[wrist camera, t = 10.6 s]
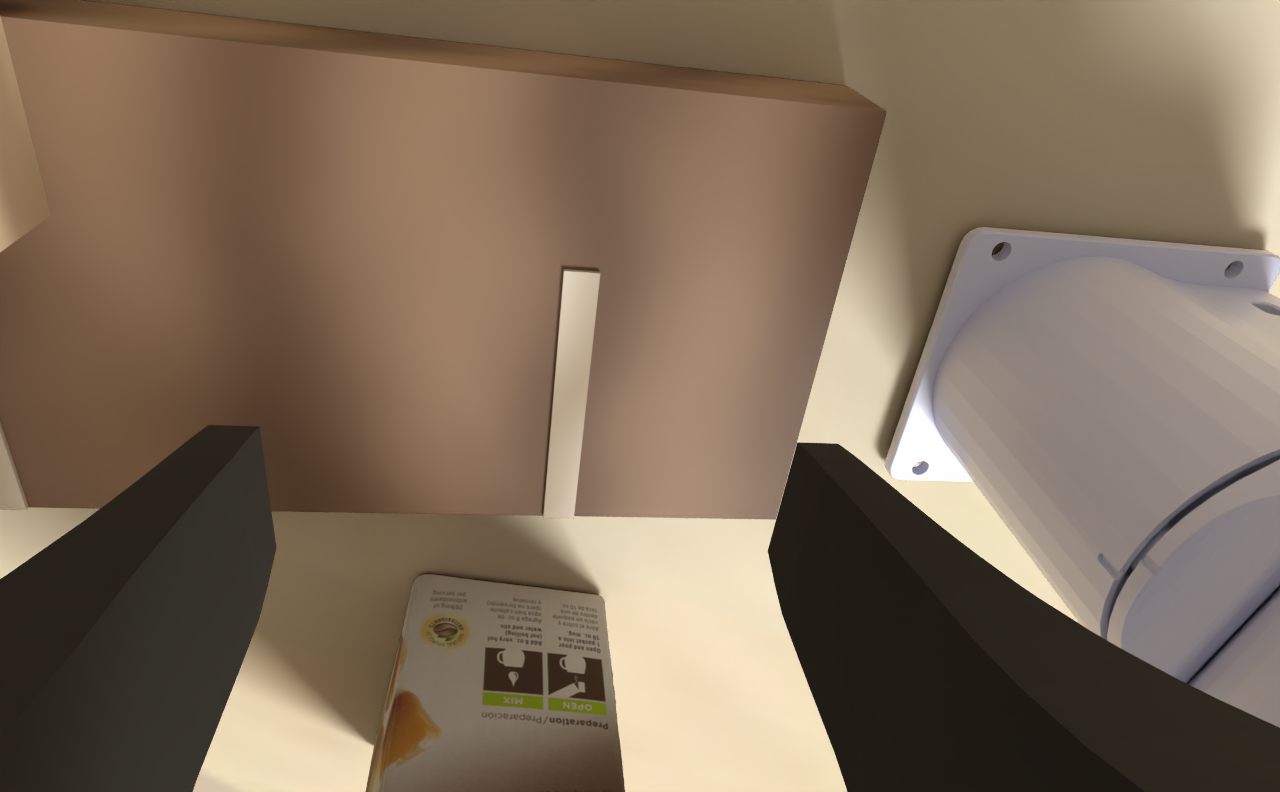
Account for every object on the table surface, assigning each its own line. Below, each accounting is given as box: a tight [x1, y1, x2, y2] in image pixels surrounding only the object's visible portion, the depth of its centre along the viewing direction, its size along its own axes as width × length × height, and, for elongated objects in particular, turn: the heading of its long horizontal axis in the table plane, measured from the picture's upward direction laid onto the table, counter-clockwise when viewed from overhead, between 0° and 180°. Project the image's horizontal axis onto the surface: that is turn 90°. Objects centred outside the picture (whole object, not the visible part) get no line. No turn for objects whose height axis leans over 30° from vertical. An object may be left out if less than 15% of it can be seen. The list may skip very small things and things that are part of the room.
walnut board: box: [0, 0, 887, 519], centre depth 19 cm, size 24×11×3 cm, turn 83°
